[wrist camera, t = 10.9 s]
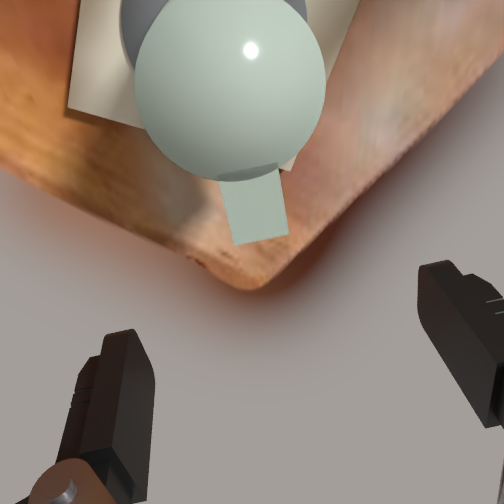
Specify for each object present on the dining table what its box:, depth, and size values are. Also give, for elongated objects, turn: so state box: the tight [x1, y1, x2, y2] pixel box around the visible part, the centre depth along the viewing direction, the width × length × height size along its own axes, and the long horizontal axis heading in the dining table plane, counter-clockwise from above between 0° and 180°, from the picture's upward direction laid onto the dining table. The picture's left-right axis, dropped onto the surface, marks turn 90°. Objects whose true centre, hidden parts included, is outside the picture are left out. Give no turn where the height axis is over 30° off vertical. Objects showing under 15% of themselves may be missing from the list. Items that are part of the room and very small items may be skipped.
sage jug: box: [134, 0, 326, 246], centre depth 22 cm, size 10×7×10 cm
